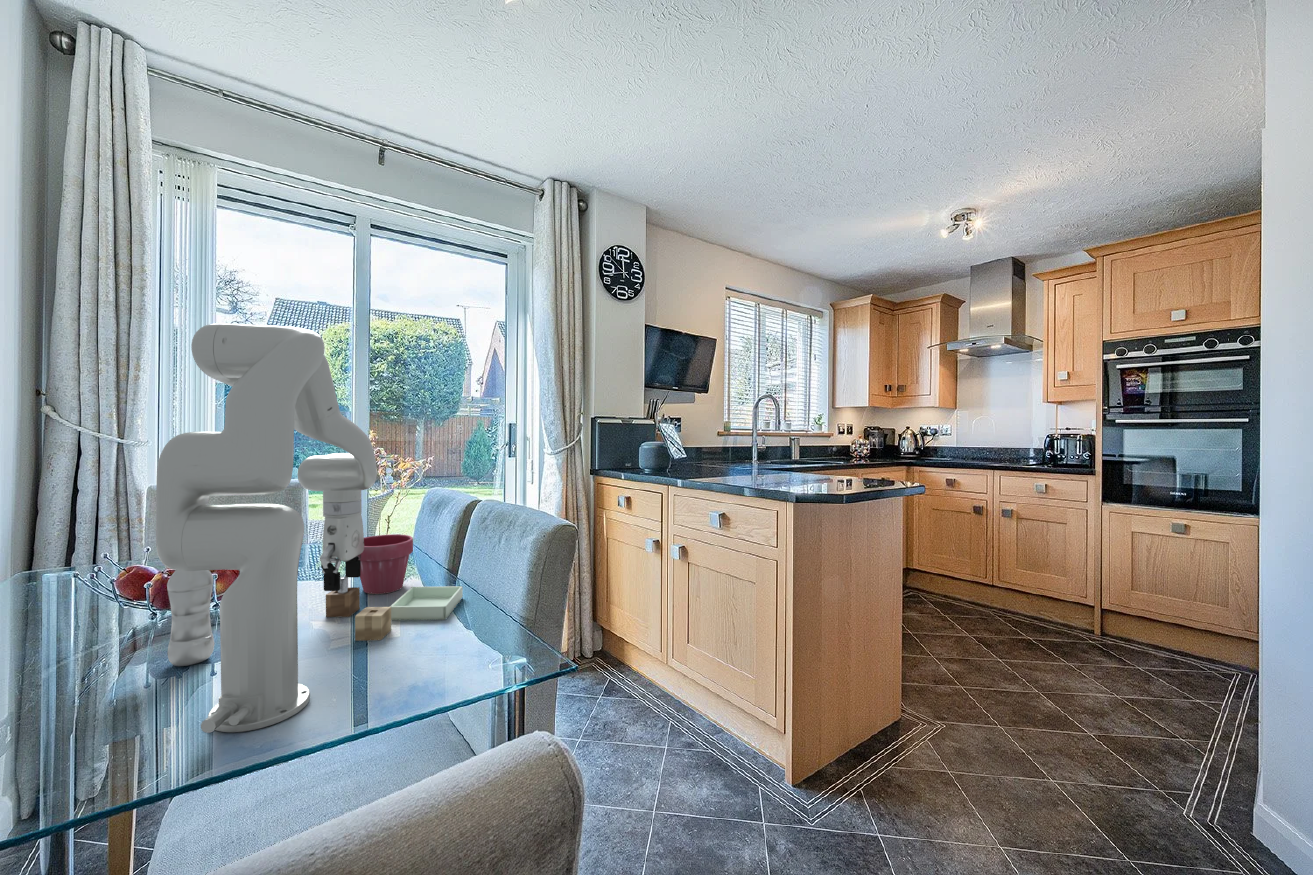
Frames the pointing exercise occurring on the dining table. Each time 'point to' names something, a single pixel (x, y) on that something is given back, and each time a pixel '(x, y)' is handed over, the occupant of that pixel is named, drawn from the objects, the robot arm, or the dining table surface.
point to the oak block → (372, 623)
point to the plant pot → (385, 562)
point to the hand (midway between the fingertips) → (342, 583)
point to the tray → (426, 603)
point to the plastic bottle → (190, 617)
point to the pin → (343, 585)
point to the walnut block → (343, 603)
